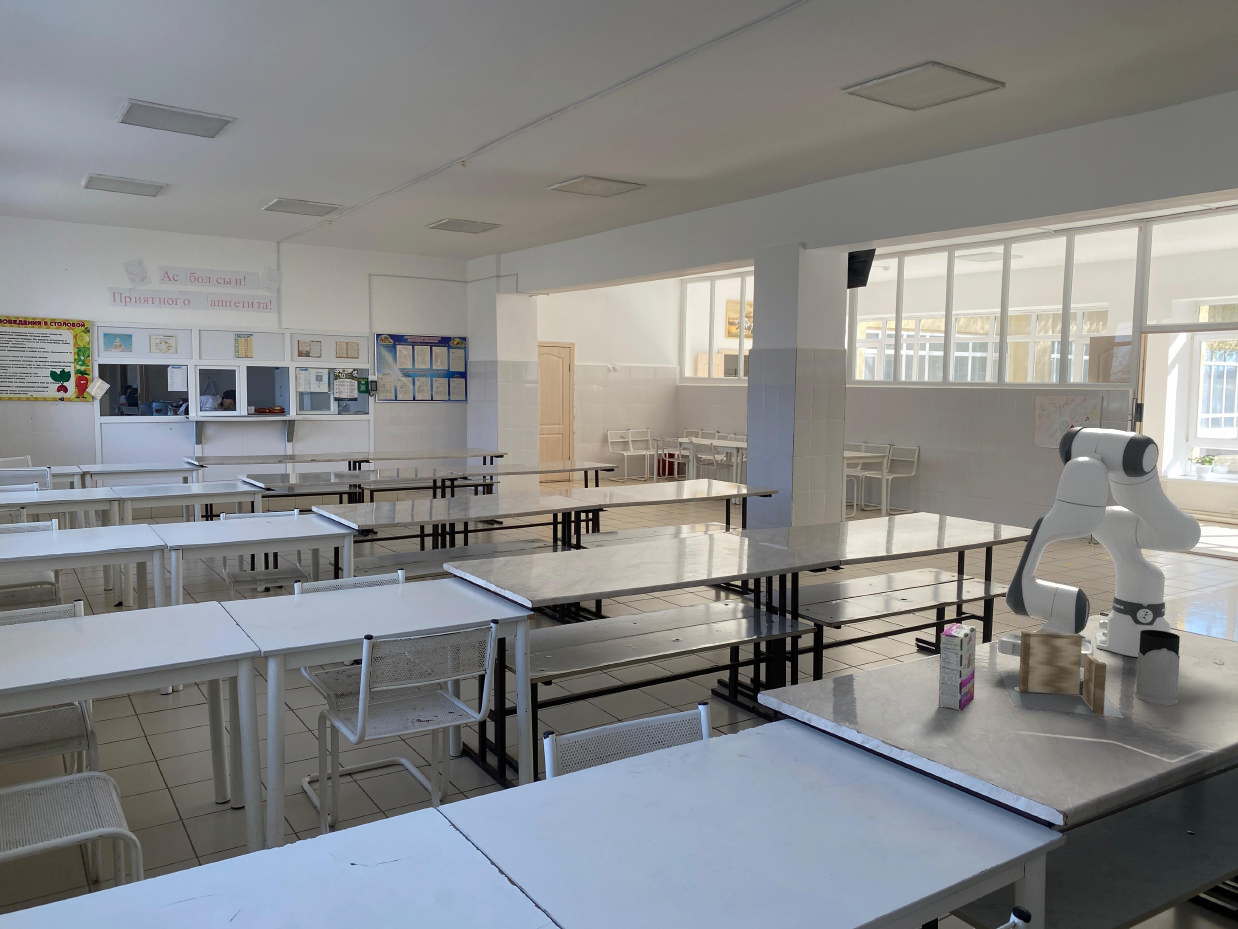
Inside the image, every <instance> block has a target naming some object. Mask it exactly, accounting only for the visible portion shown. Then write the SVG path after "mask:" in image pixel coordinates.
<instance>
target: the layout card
mask: <svg viewBox="0 0 1238 929" xmlns="http://www.w3.org/2000/svg"><path fill="white" fill-rule="evenodd" d="M999 674H1000V676H1001V678H1002V680H1003V683H1004V685H1005V687H1006V689H1007V692H1008V693H1009V696H1010V699H1011V701H1012V703H1013V705H1014V707H1016V708H1025V709H1034V710H1042V711H1051V712H1052V711H1053V712H1063V713H1069V714H1070V713H1071V714H1080V715H1091V716H1099V717H1107V718H1108V717H1110V718H1118V719H1119V718H1120V719H1125V717H1124V716H1123V714H1122V713H1121V712H1120V711H1119V709H1118V708H1117V707H1116V706H1115V705H1114V703H1113V702H1112V700H1111V699H1110V698H1109V697H1108V695H1107V694H1106V693H1105V699H1104V714H1097V713H1094V712H1093V711H1092V710H1093V708H1092V707H1091V706H1090V705H1089V704H1088V702H1087V701H1086V700H1085V699H1084V698H1083V696H1082V695H1080V685H1079V695H1078V694H1059V693H1040V692H1021V691H1020V690H1019V673H1014V672H1013V673H1012V672H1003V671H999ZM1080 681H1083V679H1080Z"/></svg>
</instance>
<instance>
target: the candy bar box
mask: <svg viewBox="0 0 1238 929" xmlns="http://www.w3.org/2000/svg"><path fill="white" fill-rule="evenodd" d="M976 633H977V626H974V625H969V624H962V623H954V624H952V625H951V626H949V627H948V628H947V629H946V630H944V631H943V632H942V633H940V634H939V635H940V640H939V641H940V644H939V646H940V647H939V649H940V650H939V684H938V686H939V688H938V692H939V693H938V706H939V707H940V706H943V707H942V708H944V707H947V708H946V709H949V708H950V709H949V710H954V709H955V711H961V712H962V710H963V709H964V707H966V706H967V704H969V703H970V701H972V700H973V698H975V673H976V671H975V670H976V638H977V636H976V635H977V634H976ZM965 705H966V706H965Z"/></svg>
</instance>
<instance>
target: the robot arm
mask: <svg viewBox="0 0 1238 929" xmlns="http://www.w3.org/2000/svg"><path fill="white" fill-rule="evenodd" d="M1058 454H1059V457H1060V460H1061V462H1062V464H1063V465H1064V468H1063V471H1062V473H1061V476H1060V479H1059V482H1058V487H1057V488H1056V495H1055V500H1054V503H1053V506H1052V508H1051V509H1050V510H1049V512H1048V513H1047V514H1045V515H1043V516H1040V517H1038V519H1037V521H1036V522H1035V524H1034V526H1033V528H1032V530H1031V531H1030V534H1029V536H1028V540H1027V541H1026V544H1025V547H1024V550H1023V552H1022V555H1021V558H1020V561H1019V562H1018V566H1017V568H1016V571H1015V574H1014V576H1013V578H1012V580H1011V582H1010V583H1009V585H1008V588H1007V589H1006V593H1005V603H1006V605H1007V606H1008V607H1009V609H1010V610H1011V611H1012V612H1013V614H1015V615H1017V616H1022V617H1030V618H1031V617H1032V618H1037V619H1041V620H1044V621H1046V622H1044V623H1043V624H1042V625H1040V627H1039V628H1037V629H1036V630H1035V632H1049V633H1072V634H1081V632H1083V631H1084V630H1085V629H1086V626H1087V624H1088V621H1089V616H1090V609H1091V607H1090V606H1091V604H1090V599H1089V598H1088V596H1087V594H1086V593H1085V591H1083V589H1082V588H1079V587H1076V586H1072V585H1068V584H1064V583H1063V584H1062V583H1057V582H1053V581H1048V580H1045V579H1044V580H1043V579H1039V578H1037V577H1036V576H1035V573H1036V571H1037V568H1038V566H1039V564H1040V561H1041V559H1042V556H1043V553H1044V551H1045V548H1046V547H1047V546H1048V545H1049V544H1051V543H1054V542H1055V543H1056V542H1060V541H1067V540H1075V539H1079V538H1084V537H1087V536H1089V535H1092V537H1093V538H1094V540H1096V541H1097V542H1099V543H1100V545H1102V547H1104V549H1105V550H1106V552H1107V553H1108V555H1109V556H1110V559H1111V560H1112V563H1113V565H1114V570H1115V594H1114V596H1113V600H1112V606H1111V612H1110V613H1109V614H1108V615H1107V616H1106V618H1105V620H1100V621H1099V629H1100V630H1104V631H1102V632H1101V631H1100V632H1096V633H1095V642H1096V648H1097V649H1101V650H1105V651H1110V652H1113V653H1116V654H1119V655H1123V656H1128V657H1135V658H1138V652H1139V647H1140V631H1142V630H1159V631H1166V632H1170V633H1171V624H1170V622H1168V621H1167V619H1166V618H1164V616H1165V615H1166V609H1167V608H1166V602H1165V601H1164V600H1165V599H1164V597H1165V583H1166V582H1165V581H1166V580H1165V579H1166V576H1165V574H1164V572H1163V570H1162V569H1161V568H1160V567H1158V566H1157V565H1156V564H1155V563H1152V562H1151V561H1149V560H1147V559H1146V557H1145V556H1144V554H1143V553H1142V550H1148V551H1149V550H1150V551H1157V552H1165V553H1177V552H1178V553H1181V552H1189V551H1191V550H1193V549H1194V548H1195V547H1196V546H1197V545H1198V543H1199V542H1200V539H1201V535H1202V529H1201V526H1200V523H1199V521H1198V520H1197V518H1196V517H1195V516H1194V515H1192V514H1190V513H1188V512H1187V511H1184V510H1182V509H1181V508H1179V507H1178V506H1177V505H1176V504H1174V502H1172V501H1171V500H1170V499H1169V497H1168V496H1167V495H1166V494H1165V492H1164V490H1163V488H1162V484H1161V481H1160V477H1159V472H1158V465H1157V464H1158V460H1159V454H1160V453H1159V445H1158V444H1157V443H1156V441H1155V440H1154V439H1153V438H1152V437H1150V436H1147V435H1145V434H1141V433H1138V432H1137V431H1136V432H1135V431H1126V430H1125V431H1124V430H1119V429H1114V428H1109V429H1108V428H1095V427H1093V428H1092V427H1091V428H1089V427H1088V426H1087V427H1086V426H1076V427H1072V428H1069V429H1068V430H1067V431H1066V432H1065V433H1063V435H1062V436H1061V439H1060V441H1059V446H1058ZM1109 487H1110V492H1111V496H1112V499H1113V500H1114V502H1116V503H1117V505H1111V506H1110V505H1109V506H1107V503H1108V500H1109V499H1108V497H1109ZM997 641H998V642H997V651H998V653H1000V654H1002V655H1007V656H1012V657H1013V656H1014V657H1019V658H1020V650H1021V634H1014V633H1013V634H1012V633H1007V634H1005V635H1002V636H1000V637H999V638H998V640H997ZM1094 650H1095V649H1094V646H1093V645H1092V639H1091V638H1090V637H1086V636H1084V635H1082V647H1081V666H1080V668H1083V669H1084V659H1085V653H1091V654H1092V655H1093V656H1094Z"/></svg>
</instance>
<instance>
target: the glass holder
mask: <svg viewBox="0 0 1238 929" xmlns="http://www.w3.org/2000/svg"><path fill="white" fill-rule="evenodd" d="M1180 638H1181V636H1180V635H1179V634H1177V633H1173V632H1171V631H1170V632H1166V631H1159V630H1142V631H1140V647H1139V652H1138V657H1137V668H1136V669H1137V671H1136V686H1135V687H1136V689H1135V692H1134V693H1133V695H1134V697H1136V698H1138V699H1139V700H1142V701H1145V702H1149V703H1152V704H1159V705H1167V706H1168V705H1169V706H1170V705H1176V704H1179V700H1178V699H1179V698H1178V689H1179V671H1180V670H1179V669H1180V641H1181V639H1180Z"/></svg>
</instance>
